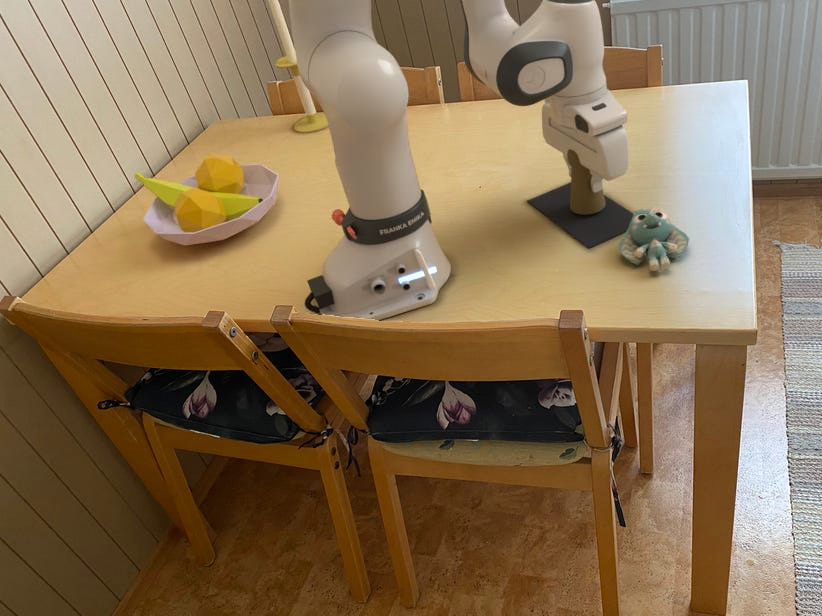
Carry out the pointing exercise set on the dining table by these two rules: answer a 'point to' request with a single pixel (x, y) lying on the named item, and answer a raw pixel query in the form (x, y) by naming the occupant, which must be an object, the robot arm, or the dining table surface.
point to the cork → (583, 188)
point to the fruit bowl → (211, 201)
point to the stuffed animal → (652, 239)
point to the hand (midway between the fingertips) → (585, 183)
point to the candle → (296, 76)
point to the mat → (583, 217)
